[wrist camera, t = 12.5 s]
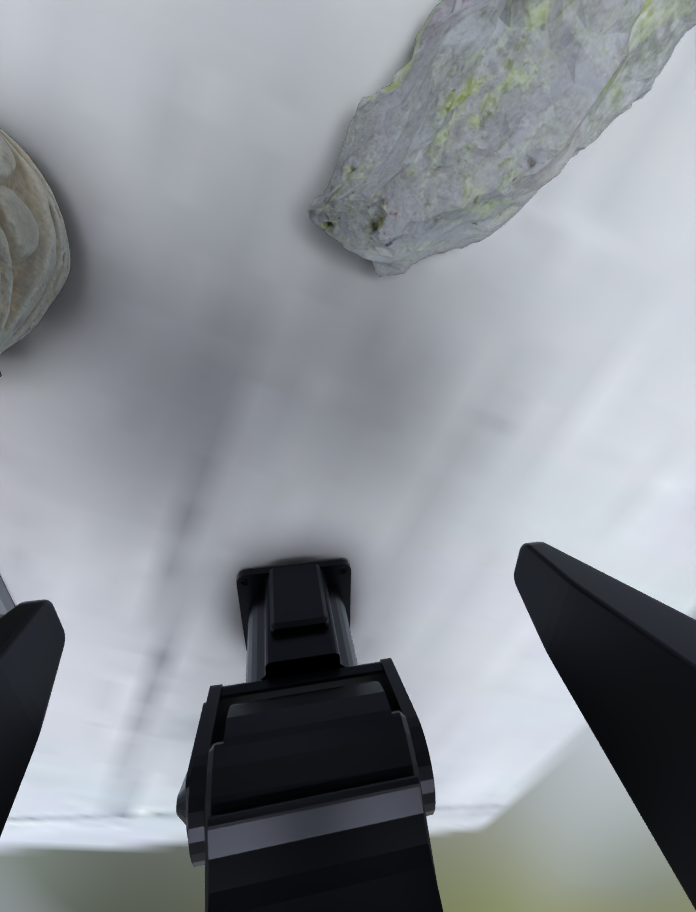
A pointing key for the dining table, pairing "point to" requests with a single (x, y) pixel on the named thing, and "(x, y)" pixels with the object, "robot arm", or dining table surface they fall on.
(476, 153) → the rock
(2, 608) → the grey bracket bar
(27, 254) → the carving
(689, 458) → the dining table surface
